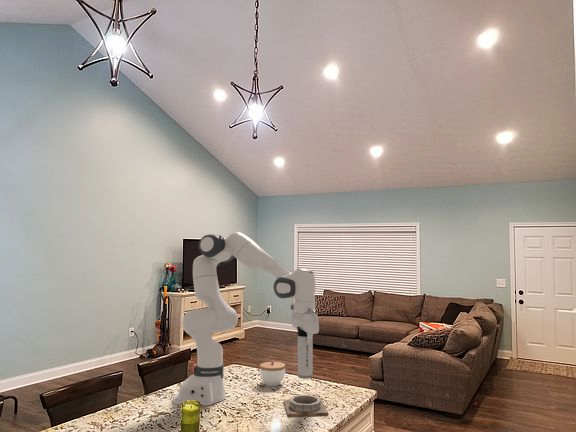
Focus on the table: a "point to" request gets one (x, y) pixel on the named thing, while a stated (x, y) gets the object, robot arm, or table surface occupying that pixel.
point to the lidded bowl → (272, 373)
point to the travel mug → (304, 356)
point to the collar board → (305, 406)
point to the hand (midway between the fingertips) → (304, 341)
